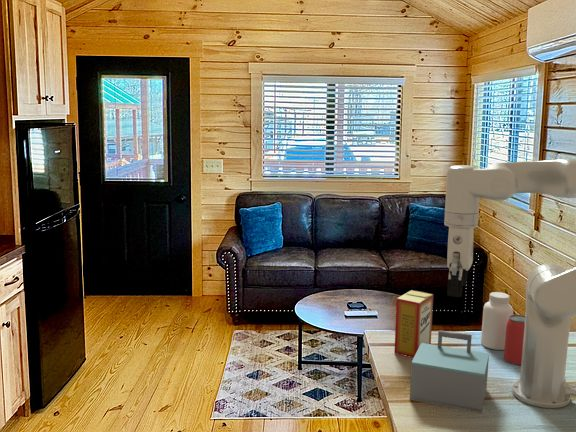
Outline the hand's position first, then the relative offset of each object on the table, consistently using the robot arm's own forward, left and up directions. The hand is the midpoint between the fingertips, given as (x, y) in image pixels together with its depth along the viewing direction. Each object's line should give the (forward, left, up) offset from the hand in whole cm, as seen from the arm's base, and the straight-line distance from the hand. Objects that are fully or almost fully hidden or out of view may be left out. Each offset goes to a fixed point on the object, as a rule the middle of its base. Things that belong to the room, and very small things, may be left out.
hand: (457, 290), depth 143 cm
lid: (0, +5, -15) cm, 16 cm away
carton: (0, +5, -24) cm, 25 cm away
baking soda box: (+13, -18, -24) cm, 33 cm away
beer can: (-14, -22, -24) cm, 36 cm away
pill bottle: (-8, -31, -24) cm, 40 cm away
